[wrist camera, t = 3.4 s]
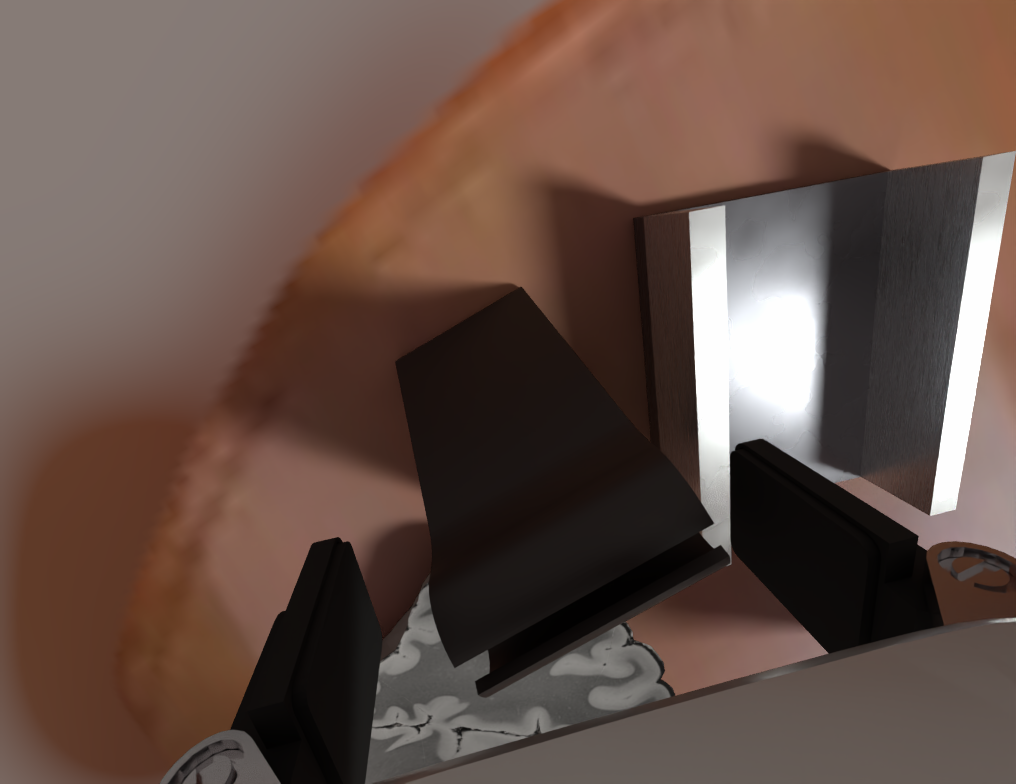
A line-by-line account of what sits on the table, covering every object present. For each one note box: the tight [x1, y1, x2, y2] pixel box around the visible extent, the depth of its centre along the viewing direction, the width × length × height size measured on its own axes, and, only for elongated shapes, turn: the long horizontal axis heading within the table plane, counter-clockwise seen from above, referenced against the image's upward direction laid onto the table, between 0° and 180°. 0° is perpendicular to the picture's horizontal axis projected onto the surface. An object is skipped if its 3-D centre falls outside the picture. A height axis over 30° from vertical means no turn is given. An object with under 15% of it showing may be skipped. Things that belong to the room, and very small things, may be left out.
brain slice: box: [365, 574, 675, 784], centre depth 25 cm, size 20×17×3 cm
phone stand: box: [395, 287, 731, 698], centre depth 15 cm, size 9×6×12 cm, turn 29°
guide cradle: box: [633, 151, 1016, 566], centre depth 19 cm, size 11×14×4 cm
